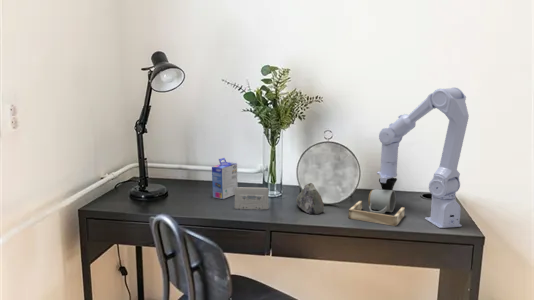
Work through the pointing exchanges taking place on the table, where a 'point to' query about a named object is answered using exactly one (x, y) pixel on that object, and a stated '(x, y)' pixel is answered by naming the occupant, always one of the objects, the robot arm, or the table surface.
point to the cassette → (251, 203)
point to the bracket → (375, 215)
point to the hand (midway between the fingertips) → (386, 198)
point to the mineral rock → (310, 200)
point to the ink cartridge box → (224, 179)
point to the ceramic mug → (382, 201)
